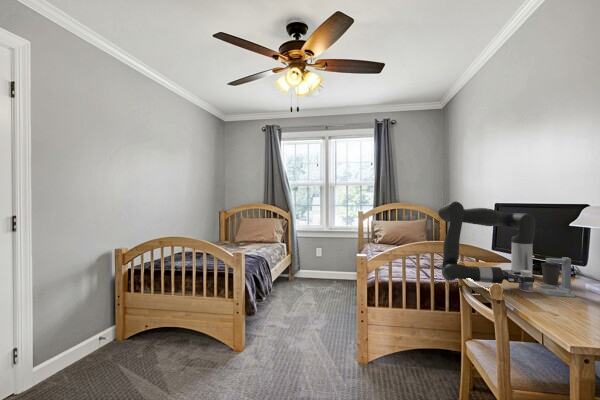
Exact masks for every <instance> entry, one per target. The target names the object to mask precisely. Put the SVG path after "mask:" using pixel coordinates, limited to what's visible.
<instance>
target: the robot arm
mask: <svg viewBox="0 0 600 400" xmlns="http://www.w3.org/2000/svg"><path fill="white" fill-rule="evenodd" d="M438 216H439V218H440V219H441V220H442V221H444V222H448V223H449V224H448V225H449V226H448V230H447V233H446V235H445V238H444V241H443V247H442V250H443V251H442V264H441V265H442V266H441V274H442V277H443V278H444V279H445V280H446V281H450V282H451V281H454V280H457V279H459V280H466V278H471V279H473V280H474V281H473V282H477V283H478V282H479V283H485V284H496V283H498V284H497V285H501V284H503V281H506V282H508V283H509V284H510V283H513V284H519V283H522V284H524V283H525V282H532V283H533V284H534V283H535V277H533V274H532V275H531V276H532V277H524V276H519V275H521V270H529V271H531V272H532V273H533V244H534V243H533V241H534V239H535V233H536V220H535V217H534V216H533V215H532V214H530V213H524V212H523V213H522V212H501V211H498V210H496V209H492V208H485V207H475V208H473V207H472V208H464V206H463V204H462V203H461V202H458V201H456V200H455V201H451V202H448V203H447V204H444V205H443V206H441V207H440V208H439V210H438ZM463 223H465V224H473V225H479V226H485V227H498V226H500V227H504V228H508V229H513V230H517V231H518V234H517V235H514V236H512V237H511V256H510V257H511V261H510V263H511V264H510V269H502V268H501V267H500V266H486V265H485V266H484V265H482V266H477V265H476V266H474V265H469V266H468V265H464V264H458V260H459V258H460V239H461V232H462V227H463ZM519 279H521V280H519Z"/></svg>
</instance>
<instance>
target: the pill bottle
mask: <svg viewBox="0 0 600 400" xmlns="http://www.w3.org/2000/svg"><path fill="white" fill-rule="evenodd" d="M531 275H532V276H531ZM519 276H524V277H533V271H532V272H531V271H529V270H521V275H519ZM519 280H521V279H519ZM518 290H520V291H522V292H526V293H533V291H534V283H532V282H525V283H524V284H522V283H518Z"/></svg>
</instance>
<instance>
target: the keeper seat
mask: <svg viewBox="0 0 600 400" xmlns="http://www.w3.org/2000/svg"><path fill="white" fill-rule="evenodd" d="M545 262H548V263H557V264H561V266H562V267H561V284H559V285H558V288H557V285H550V284H539V286H536V289H537V290H538V291H540V292H541V293H543V294H545V295H547V296H556V297H557V296H558V297H568V298H576V295H575V294H573V293H572V288H571V287H572V258H570V257H566V256H564V257H563V256H562V257H561V258H555V257H554V258H550V257H548V258H547V257H545Z"/></svg>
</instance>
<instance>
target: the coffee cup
mask: <svg viewBox="0 0 600 400" xmlns="http://www.w3.org/2000/svg"><path fill="white" fill-rule="evenodd" d="M540 265H541V273H542V281H543V284H545V285H549V286H557V285H558V284H559V280H560V272H561V268H562V264H560V263H548V262H546V261H545V262H541V263H540ZM558 286H559V285H558Z"/></svg>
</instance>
